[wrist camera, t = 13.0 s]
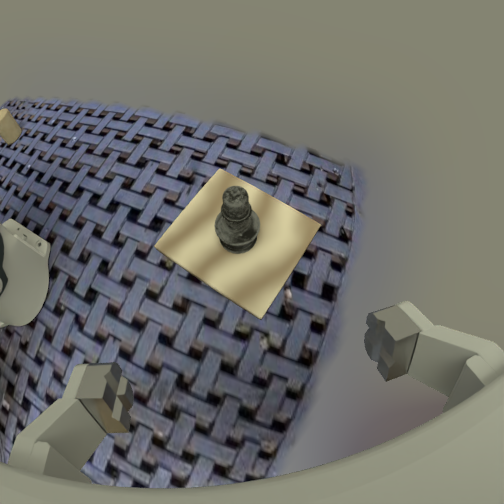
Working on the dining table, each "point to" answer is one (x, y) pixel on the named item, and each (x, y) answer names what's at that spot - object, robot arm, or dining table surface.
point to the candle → (9, 127)
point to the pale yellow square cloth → (245, 264)
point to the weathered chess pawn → (237, 221)
